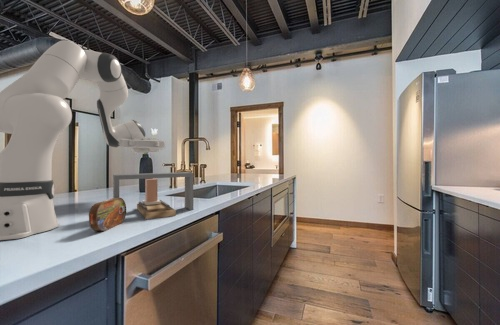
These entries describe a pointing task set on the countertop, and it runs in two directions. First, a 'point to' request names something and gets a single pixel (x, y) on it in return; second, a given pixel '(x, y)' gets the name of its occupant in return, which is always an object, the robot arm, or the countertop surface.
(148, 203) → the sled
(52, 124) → the robot arm
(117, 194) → the archway
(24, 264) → the countertop surface
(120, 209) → the tin
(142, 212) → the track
